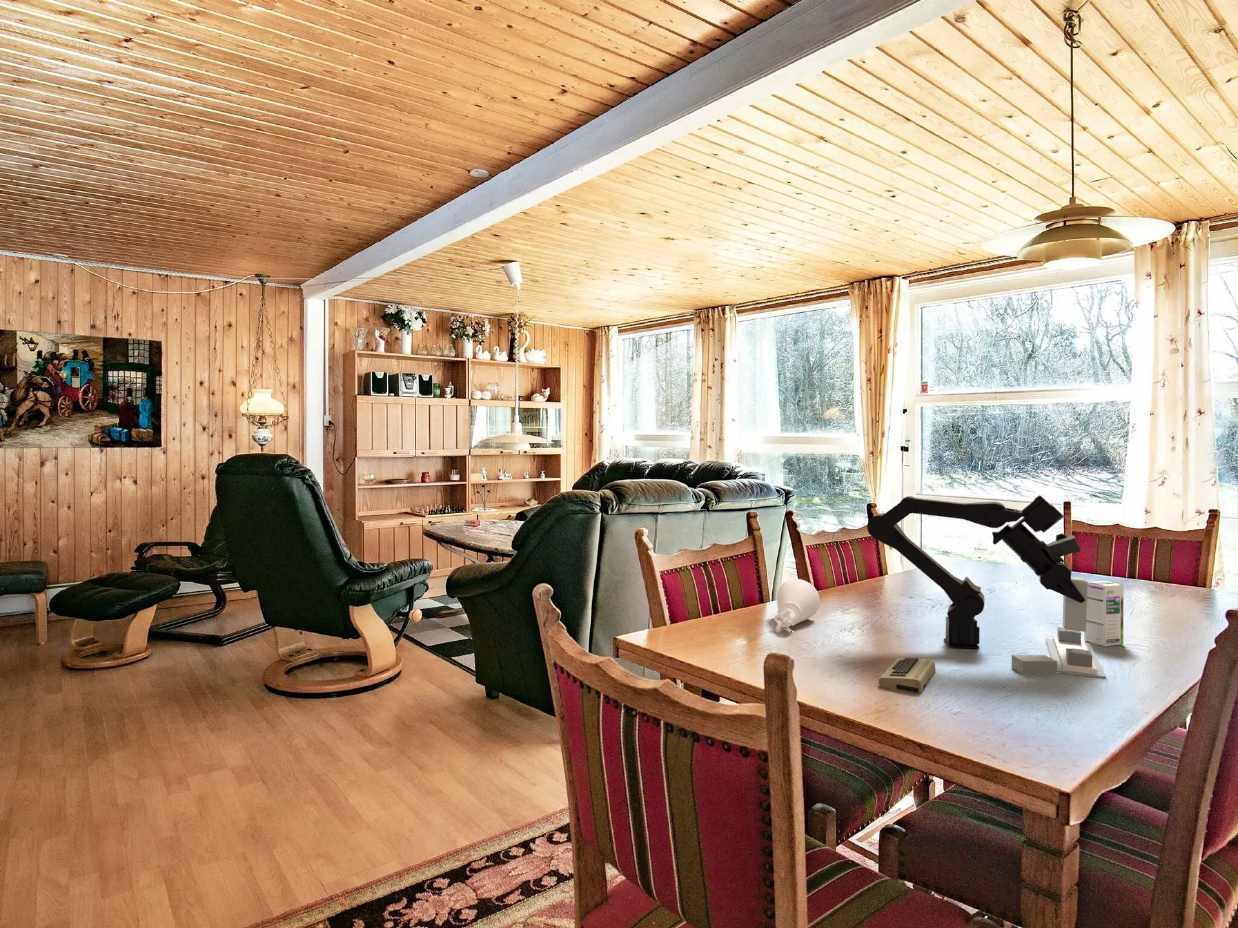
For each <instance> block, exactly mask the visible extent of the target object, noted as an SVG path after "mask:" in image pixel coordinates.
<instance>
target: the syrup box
mask: <svg viewBox="0 0 1238 928" xmlns="http://www.w3.org/2000/svg"><path fill="white" fill-rule="evenodd" d="M1087 582H1088V586H1087V614H1086V632H1084V633H1083V634H1084V635H1083V637H1084V639H1083V641H1084V642H1085V641H1086V642H1087V643H1090V644H1091V643H1092V644H1094V645H1097V646H1101V647H1107V646H1108V647H1109V646H1123V645H1124V601H1125V600H1124V599H1125V598H1124V587H1125V586H1124V584H1121V583H1118V582H1114V581H1109V580H1108V581H1107V580H1101V581H1087Z"/></svg>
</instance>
